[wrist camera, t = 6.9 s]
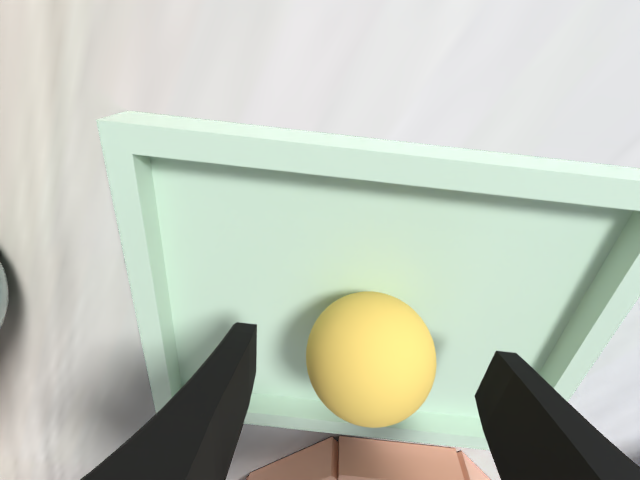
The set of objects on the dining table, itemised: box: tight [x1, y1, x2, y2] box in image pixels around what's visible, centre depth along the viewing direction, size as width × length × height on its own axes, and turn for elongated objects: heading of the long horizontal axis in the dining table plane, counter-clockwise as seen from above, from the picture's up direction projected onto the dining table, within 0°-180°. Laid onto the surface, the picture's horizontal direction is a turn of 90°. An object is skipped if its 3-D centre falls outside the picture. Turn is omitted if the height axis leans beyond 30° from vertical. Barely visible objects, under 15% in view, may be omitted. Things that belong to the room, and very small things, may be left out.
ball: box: [306, 291, 437, 428], centre depth 11 cm, size 4×4×4 cm
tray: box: [96, 111, 640, 450], centre depth 13 cm, size 16×12×2 cm
